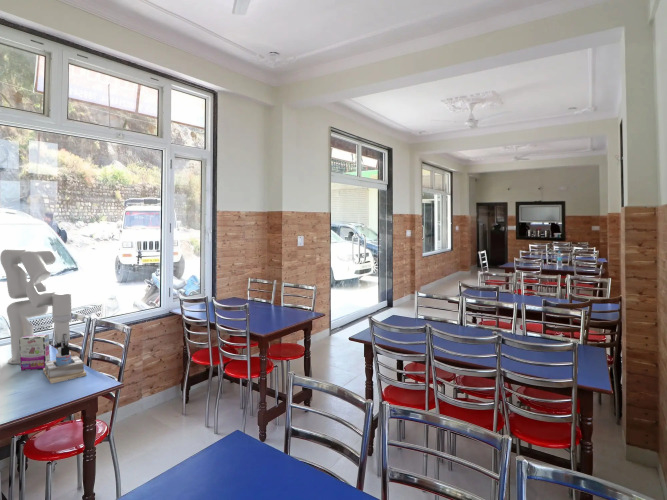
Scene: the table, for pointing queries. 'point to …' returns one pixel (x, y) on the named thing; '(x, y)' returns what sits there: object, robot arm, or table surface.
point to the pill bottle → (62, 358)
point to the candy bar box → (34, 351)
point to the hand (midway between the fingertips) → (63, 352)
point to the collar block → (64, 370)
